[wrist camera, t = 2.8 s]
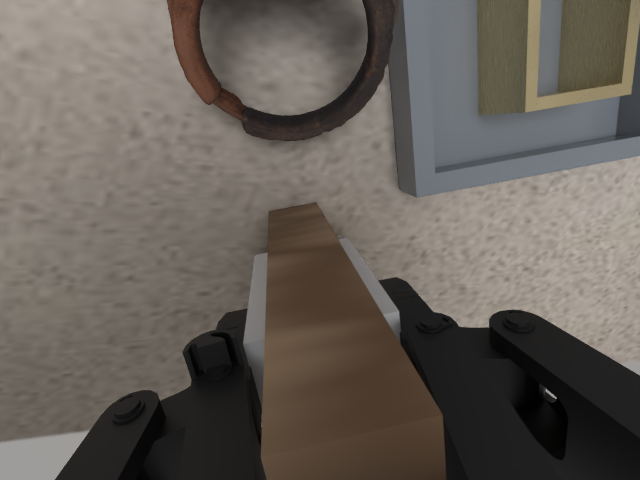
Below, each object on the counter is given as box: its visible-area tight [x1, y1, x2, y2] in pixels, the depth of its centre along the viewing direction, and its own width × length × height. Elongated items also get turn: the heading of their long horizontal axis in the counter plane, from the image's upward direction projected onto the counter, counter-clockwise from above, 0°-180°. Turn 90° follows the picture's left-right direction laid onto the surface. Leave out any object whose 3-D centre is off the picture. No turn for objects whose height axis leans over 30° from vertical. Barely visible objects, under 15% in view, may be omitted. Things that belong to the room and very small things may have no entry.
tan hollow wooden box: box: [477, 0, 640, 115], centre depth 15 cm, size 5×6×4 cm
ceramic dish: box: [388, 0, 640, 197], centre depth 17 cm, size 13×13×2 cm
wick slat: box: [261, 203, 446, 480], centre depth 13 cm, size 3×4×15 cm, turn 9°
